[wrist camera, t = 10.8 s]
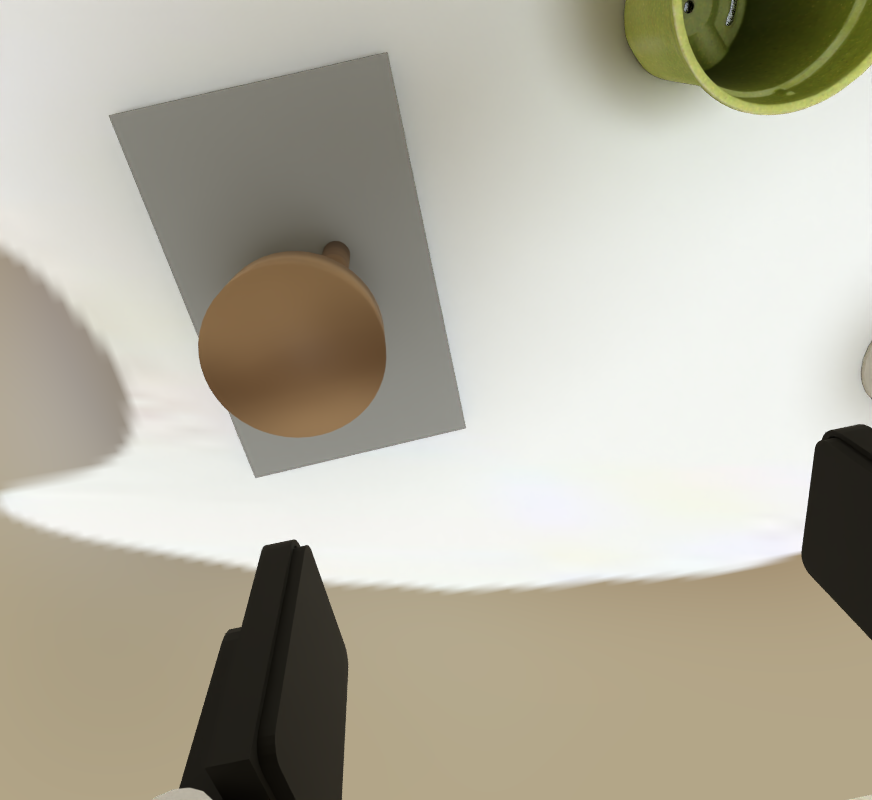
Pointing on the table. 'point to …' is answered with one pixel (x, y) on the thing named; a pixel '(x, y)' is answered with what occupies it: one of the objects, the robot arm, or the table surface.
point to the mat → (303, 226)
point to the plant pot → (754, 48)
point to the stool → (294, 343)
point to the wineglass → (867, 371)
